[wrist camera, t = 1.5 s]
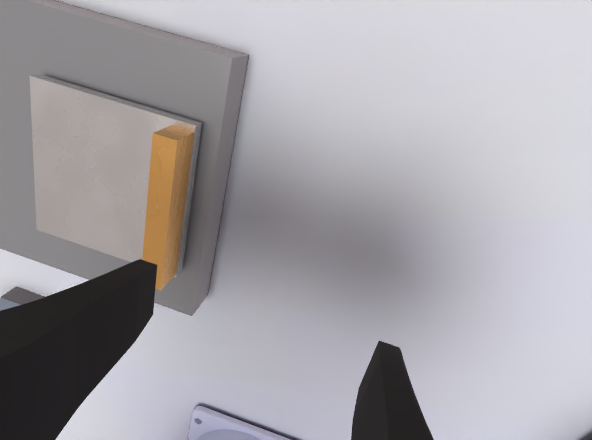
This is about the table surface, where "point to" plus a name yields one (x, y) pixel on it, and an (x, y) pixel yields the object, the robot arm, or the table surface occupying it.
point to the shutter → (113, 173)
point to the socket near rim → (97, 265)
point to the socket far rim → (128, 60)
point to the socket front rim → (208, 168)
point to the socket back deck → (25, 121)
